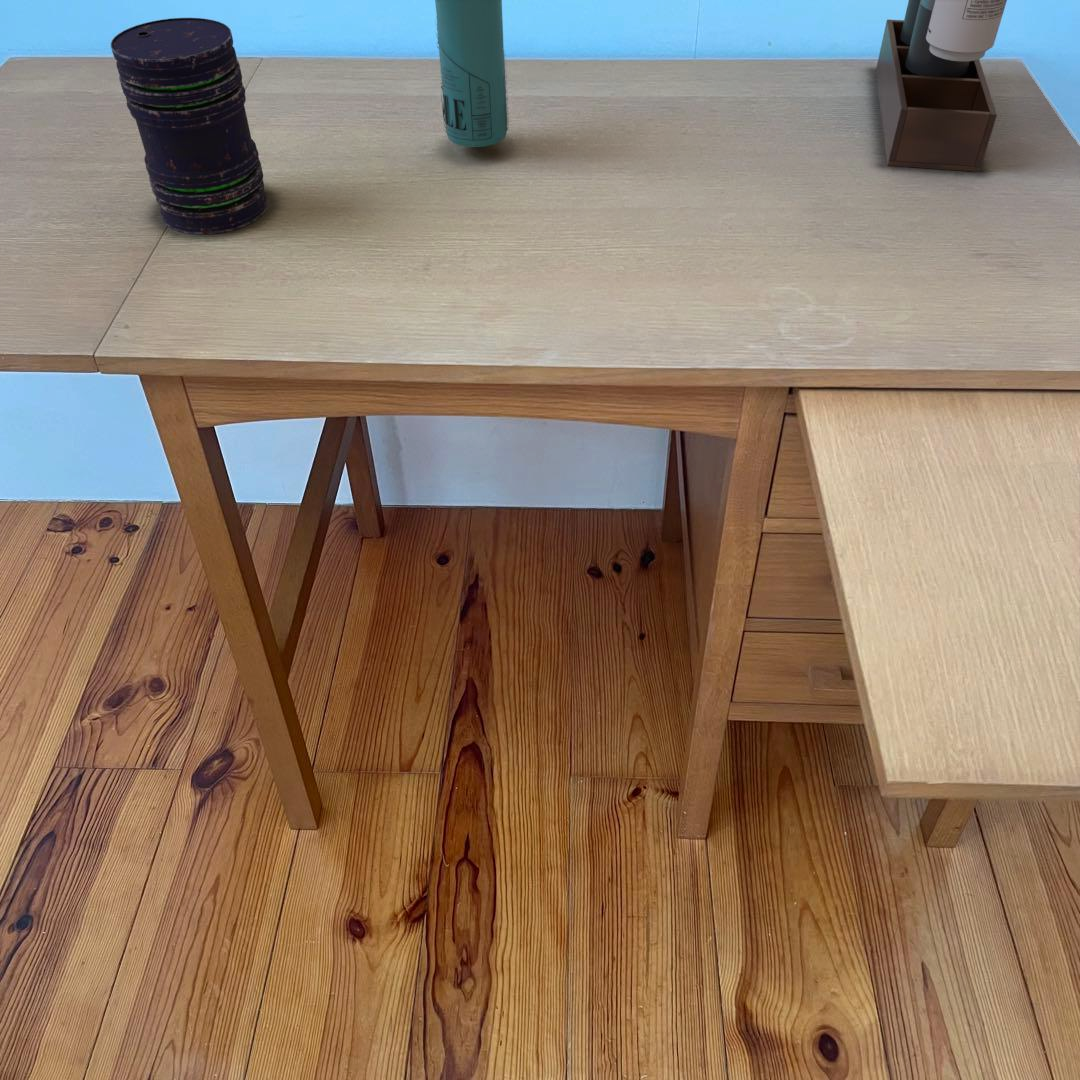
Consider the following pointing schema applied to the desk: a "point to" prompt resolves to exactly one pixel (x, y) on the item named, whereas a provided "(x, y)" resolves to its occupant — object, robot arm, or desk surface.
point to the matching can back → (909, 22)
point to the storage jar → (192, 123)
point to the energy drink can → (964, 28)
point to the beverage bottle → (472, 71)
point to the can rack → (932, 112)
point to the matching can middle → (920, 55)
